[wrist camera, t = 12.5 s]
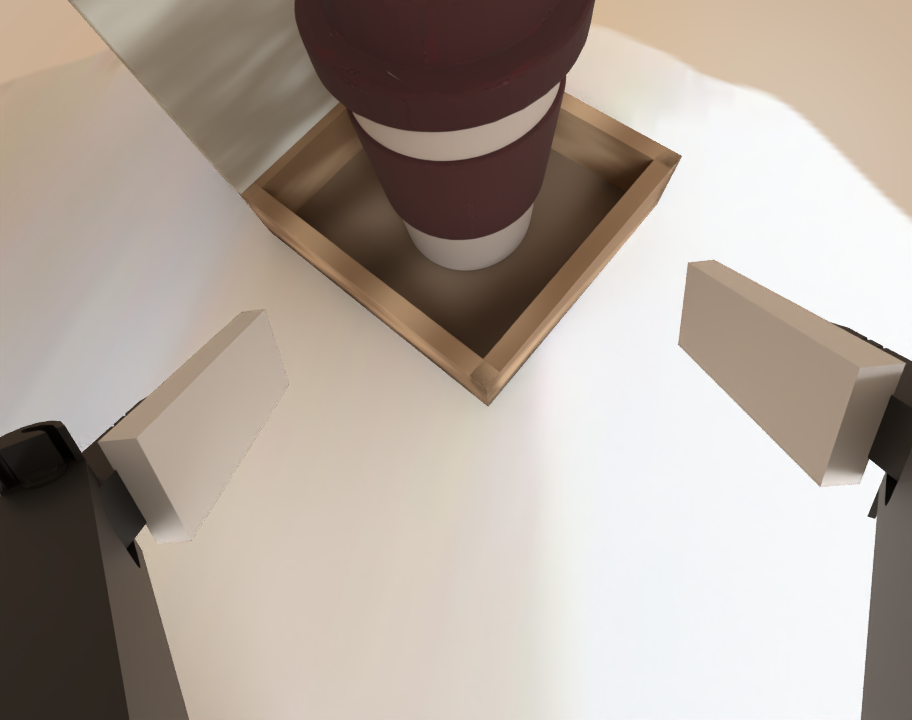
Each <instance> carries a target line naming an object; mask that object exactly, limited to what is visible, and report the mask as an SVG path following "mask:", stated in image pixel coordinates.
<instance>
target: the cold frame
mask: <svg viewBox="0 0 912 720" xmlns="http://www.w3.org/2000/svg"><path fill="white" fill-rule="evenodd" d="M68 1H69V2H70V3H71V4H72V5H73V7H74V8H75V9H76V10H77V11H78V12H79V13H80V15H81V16H82V17H83V18H84V19H85V20H86V21H87V23H89V25H90V26H91V27H92V28H93V29H94V30H95V32H96V33H97V34H98V35H99V36H100V37H101V38H102V40H103V41H104V42H105V43H106V44H107V45H108V46H109V48H110V49H111V50H112V51H113V52H114V53H115V54H116V56H117V57H118V58H119V59H120V60H121V61H122V62H123V64H124V65H125V66H126V67H127V68H128V69H129V70H130V72H131V73H132V74H133V75H134V76H135V77H136V78H137V79H138V81H139V82H140V83H141V84H142V85H143V86H144V87H145V89H146V90H147V91H148V92H149V93H150V94H151V95H152V97H153V98H154V99H155V100H156V101H157V102H158V103H159V105H160V106H161V107H162V108H163V109H164V110H165V111H166V113H167V114H168V115H169V116H170V117H171V118H172V119H173V121H174V122H175V123H176V124H177V125H178V126H179V127H180V128H181V130H182V131H183V132H184V133H185V134H186V135H187V136H188V138H189V139H190V140H191V141H192V142H193V143H194V144H195V146H196V147H197V148H198V149H199V150H200V151H201V152H202V154H203V155H204V156H205V157H206V158H207V159H208V160H209V162H210V163H211V164H212V165H213V166H214V167H215V168H216V169H217V171H218V172H219V173H220V174H221V175H222V176H223V177H224V179H225V180H226V181H227V182H228V183H229V184H230V185H231V187H232V188H233V189H235V190H236V191H237V192H238V193H239V194H240V195H241V197H242V198H243V199H244V200H245V201H246V203H247V204H248V205H249V206H250V208H251V209H252V210H253V211H254V212H255V214H256V215H257V216H258V217H259V218H260V220H261V221H262V222H263V223H264V224H265V226H266V227H267V228H268V229H269V230H270V232H272V233H273V234H274V235H275V236H277V237H278V238H279V239H280V240H282V241H283V242H284V243H285V244H287V245H288V246H289V247H290V248H292V249H293V250H294V251H295V252H297V253H298V254H299V255H300V256H302V257H303V258H304V259H305V260H306V261H308V262H309V263H310V264H311V265H313V266H314V267H315V268H316V269H318V270H319V271H320V272H321V273H323V274H324V275H325V276H326V277H328V278H329V279H330V280H331V281H333V282H334V283H335V284H336V285H338V286H339V287H340V288H341V289H343V290H344V291H345V292H346V293H348V294H349V295H350V296H351V297H352V298H354V299H355V300H356V301H357V302H359V303H360V304H361V305H362V306H364V307H365V308H366V309H367V310H369V311H370V312H371V313H372V314H374V315H375V316H376V317H377V318H379V319H380V320H381V321H382V322H384V323H385V324H386V325H387V326H389V327H390V328H391V329H392V330H394V331H395V332H396V333H397V334H399V335H400V336H401V337H402V338H403V339H405V340H406V341H407V342H408V343H410V344H411V345H412V346H413V347H415V348H416V349H417V350H418V351H420V352H421V353H422V354H423V355H425V356H426V357H427V358H428V359H430V360H431V361H432V362H433V363H435V364H436V365H437V366H438V367H440V368H441V369H442V370H443V371H445V372H446V373H447V374H448V375H449V376H451V377H452V378H453V379H454V380H456V381H457V382H458V383H459V384H461V385H462V386H463V387H464V388H466V389H467V390H468V391H469V392H471V393H472V394H473V395H474V396H476V397H477V398H478V399H479V400H481V401H482V402H483V403H484V404H486V405H487V406H489V405H490V404H491V403H492V401H493V400H494V399H495V398H496V397H497V395H498V394H499V393H500V392H501V391H502V389H503V388H504V387H505V386H506V385H507V383H508V382H509V381H510V380H511V379H512V377H513V376H514V375H515V374H516V373H517V371H518V370H519V369H520V368H521V367H522V365H523V364H524V363H525V362H526V361H527V359H528V358H529V357H530V356H531V355H532V353H533V352H534V351H535V350H536V349H537V347H538V346H539V345H540V344H541V343H542V341H543V340H544V339H545V338H546V337H547V335H548V334H549V333H550V332H551V331H552V329H553V328H554V327H555V326H556V325H557V323H558V322H559V321H560V320H561V319H562V317H563V316H564V315H565V314H566V313H567V311H568V310H569V309H570V308H571V307H572V305H573V304H574V303H575V302H576V301H577V299H578V298H579V297H580V296H581V295H582V293H583V292H584V291H585V290H586V289H587V287H588V286H589V285H590V284H591V283H592V281H593V280H594V279H595V278H596V277H597V275H598V274H599V273H600V272H601V271H602V269H603V268H604V267H605V266H606V265H607V263H608V262H609V261H610V260H611V259H612V257H613V256H614V255H615V254H616V253H617V251H618V250H619V249H620V248H621V247H622V245H623V244H624V243H625V242H626V241H627V239H628V238H629V237H630V236H631V235H632V233H633V232H634V231H635V230H636V229H637V227H638V226H639V225H640V224H641V223H642V221H643V220H644V219H645V218H646V217H647V215H648V214H649V213H650V212H651V211H652V209H653V208H654V207H655V206H656V205H657V203H658V201H659V199H660V197H661V195H662V193H663V192H664V190H665V188H666V186H667V184H668V182H669V180H670V178H671V176H672V174H673V172H674V171H675V169H676V167H677V165H678V163H679V161H680V159H681V157H682V156H681V155H679V154H677V153H675V152H674V151H672V150H670V149H668V148H666V147H664V146H663V145H661V144H659V143H657V142H655V141H653V140H652V139H650V138H648V137H646V136H644V135H642V134H641V133H639V132H637V131H635V130H633V129H631V128H630V127H628V126H626V125H624V124H622V123H620V122H618V121H617V120H615V119H613V118H611V117H609V116H607V115H606V114H604V113H602V112H600V111H598V110H596V109H595V108H593V107H591V106H589V105H587V104H585V103H584V102H582V101H580V100H578V99H576V98H574V97H573V96H571V95H569V94H567V93H565V92H564V95H563V99H562V103H561V108H560V112H559V116H558V120H557V125H556V129H555V133H554V138H553V142H552V146H551V150H550V155H549V159H548V163H547V167H546V172H545V176H544V180H543V183H542V187H541V189H540V191H539V194H538V195H537V197H536V199H535V201H534V205H533V210H532V215H531V219H530V224H529V227H528V230H527V233H526V235H525V237H524V238H523V240H522V242H521V243H520V245H519V246H518V247H517V248H516V249H515V251H514V252H512V253H511V254H510V255H509V256H508V257H506V258H505V259H504V260H502V261H500V262H498V263H497V264H494V265H492V266H489V267H487V268H483V269H478V270H466V271H461V270H453V269H449V268H445V267H443V266H440V265H438V264H436V263H434V262H432V261H431V260H429V259H428V258H427V257H426V256H424V255H423V254H422V253H421V252H420V251H419V250H418V248H417V247H416V246H415V244H414V243H413V241H412V239H411V237H410V235H409V233H408V231H407V228H406V226H405V224H404V222H403V220H402V218H401V217H400V216H399V215H398V214H397V212H396V211H395V210H394V208H393V207H392V205H391V203H390V202H389V200H388V198H387V196H386V194H385V192H384V190H383V187H382V185H381V183H380V181H379V179H378V177H377V175H376V173H375V171H374V169H373V167H372V165H371V163H370V161H369V158H368V156H367V154H366V152H365V150H364V148H363V146H362V144H361V142H360V140H359V138H358V136H357V134H356V132H355V129H354V127H353V125H352V123H351V121H350V118H349V116H348V113H347V109H346V107H345V106H344V105H343V104H341V103H340V102H339V101H338V100H337V99H336V98H335V97H333V95H332V94H331V93H330V92H329V91H328V90H327V89H326V88H325V86H324V85H323V84H322V82H321V80H320V79H319V77H318V75H317V73H316V71H315V69H314V67H313V65H312V63H311V60H310V58H309V55H308V53H307V51H306V48H305V46H304V44H303V41H302V39H301V36H300V34H299V31H298V27H297V24H296V20H295V12H294V4H295V0H68Z"/></svg>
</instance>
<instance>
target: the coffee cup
mask: <svg viewBox="0 0 912 720" xmlns="http://www.w3.org/2000/svg"><path fill="white" fill-rule="evenodd" d="M594 3H595V0H295V4H294V12H295V20H296V24H297V27H298V31H299V34H300V36H301V39H302V41H303V44H304V46H305V48H306V51H307V53H308V55H309V58H310V60H311V63H312V65H313V67H314V69H315V71H316V73H317V75H318V77H319V79H320V80H321V82H322V84H323V85H324V86H325V88H326V89H327V90H328V91H329V92H330V93H331V94H332V95H333V97H335V98H336V99H337V100H338V101H339V102H340V103H341V104H343V105H344V106H345V107H346V109H347V113H348V116H349V118H350V121H351V123H352V125H353V127H354V129H355V132H356V134H357V136H358V138H359V140H360V142H361V144H362V146H363V148H364V150H365V152H366V154H367V156H368V158H369V161H370V163H371V165H372V167H373V169H374V171H375V173H376V175H377V177H378V179H379V181H380V183H381V185H382V187H383V190H384V192H385V194H386V196H387V198H388V200H389V202H390V203H391V205H392V207H393V208H394V210H395V211H396V212H397V214H398V215H399V216H400V217H401V218H402V220H403V222H404V224H405V226H406V228H407V231H408V233H409V235H410V237H411V239H412V241H413V243H414V244H415V246H416V247H417V248H418V250H419V251H420V252H421V253H422V254H423V255H424V256H426V257H427V258H428V259H429V260H431V261H432V262H434V263H436V264H438V265H440V266H443V267H445V268H449V269H453V270H461V271H466V270H478V269H483V268H487V267H489V266H492V265H494V264H497V263H498V262H500V261H502V260H504V259H505V258H506V257H508V256H509V255H510V254H511V253H512V252H514V251H515V249H516V248H517V247H518V246H519V245H520V243H521V242H522V240H523V238H524V237H525V235H526V233H527V230H528V227H529V224H530V219H531V215H532V210H533V205H534V201H535V199H536V197H537V195H538V194H539V191H540V189H541V187H542V183H543V180H544V176H545V172H546V167H547V163H548V159H549V155H550V150H551V146H552V142H553V138H554V133H555V129H556V125H557V120H558V116H559V112H560V108H561V103H562V99H563V95H564V90H565V84H566V74H567V73H568V72H569V71H570V69H571V68H572V66H573V65H574V64H575V62H576V60H577V58H578V56H579V54H580V52H581V51H582V49H583V47H584V45H585V42H586V39H587V36H588V32H589V28H590V24H591V18H592V13H593V8H594Z"/></svg>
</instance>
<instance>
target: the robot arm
mask: <svg viewBox="0 0 912 720" xmlns="http://www.w3.org/2000/svg"><path fill="white" fill-rule="evenodd" d="M678 345H679V346H680V347H681V348H682V349H683V350H684V351H685V352H686V353H687V354H688V355H689V356H690V357H691V358H692V359H693V360H694V361H695V362H696V363H697V364H698V365H699V366H700V367H701V368H702V369H703V370H704V371H705V372H706V373H707V374H708V375H709V376H710V377H711V378H712V379H713V380H714V381H715V382H716V383H717V384H718V385H719V386H720V387H721V388H722V389H723V390H724V391H725V392H726V393H727V394H728V395H729V396H730V397H731V398H732V399H733V400H734V401H735V402H736V403H737V404H738V405H739V406H740V407H741V408H742V409H743V410H744V411H745V412H746V413H747V414H748V415H749V416H750V417H751V418H752V419H753V420H754V421H755V422H756V423H757V424H758V425H759V426H760V427H761V428H762V429H763V430H764V431H765V432H766V433H767V434H768V435H769V436H770V437H771V438H772V439H773V440H774V441H775V442H776V443H777V444H778V445H779V446H780V447H781V448H782V449H783V450H784V451H785V452H786V453H787V454H788V455H789V456H790V457H791V458H792V459H793V460H794V461H795V462H796V463H797V464H798V465H799V466H800V467H801V468H802V469H803V470H804V471H805V472H806V473H807V474H808V475H809V476H810V477H811V478H812V479H813V480H814V481H815V482H816V483H817V484H818V485H819V486H820V487H827V486H839V485H851V484H860V482H861V479H862V476H863V474H864V471H865V468H866V466H867V463H868V461H869V459H870V460H872V461H873V462H874V463H875V464H876V465H878V466H879V467H880V468H881V469H883V470H884V471H885V475H884V477H883V480H882V482H881V485H880V487H879V490H878V492H877V494H876V497H875V499H874V502H873V504H872V507H871V509H870V511H869V514H868V517H871V518H874V519H875V518H876V516H877V523H876V535H875V548H874V561H873V573H872V586H871V599H870V611H869V624H868V637H867V649H866V662H865V675H864V687H863V700H862V713H861V720H912V361H910V360H909V359H907V358H905V357H903V356H901V355H899V354H897V353H895V352H893V351H891V350H890V349H888V348H883V346H882V345H880V344H878V343H876V342H874V341H872V340H867V337H865V336H863V335H861V334H859V333H857V332H855V331H854V330H852V329H850V328H847V327H844V326H841V325H837V324H834V323H831V322H828V321H827V320H825V319H823V318H821V317H819V316H817V315H815V314H814V313H812V312H810V311H808V310H806V309H804V308H802V307H801V306H799V305H797V304H795V303H793V302H791V301H789V300H788V299H786V298H784V297H782V296H780V295H778V294H776V293H775V292H773V291H771V290H769V289H767V288H765V287H763V286H762V285H760V284H758V283H756V282H754V281H752V280H750V279H749V278H747V277H745V276H743V275H741V274H739V273H737V272H736V271H734V270H732V269H730V268H728V267H726V266H724V265H723V264H721V263H719V262H717V261H715V260H708V261H699V262H690V263H688V268H687V276H686V285H685V293H684V301H683V309H682V318H681V326H680V334H679V342H678ZM288 386H289V381H288V378H287V375H286V372H285V369H284V366H283V363H282V360H281V357H280V354H279V351H278V348H277V345H276V342H275V339H274V336H273V332H272V329H271V326H270V323H269V320H268V317H267V314H266V311H265V310H256V311H247V312H241V313H240V314H239V315H238V316H237V317H235V318H234V319H233V320H232V321H231V322H230V323H229V324H228V325H227V326H225V327H224V328H223V329H222V330H221V331H220V332H219V333H218V334H217V335H215V336H214V337H213V338H212V339H211V340H210V341H209V342H208V343H207V344H206V345H204V346H203V347H202V348H201V349H200V350H199V351H198V352H197V353H196V354H194V355H193V356H192V357H191V358H190V359H189V360H188V361H187V362H186V363H184V364H183V365H182V366H181V367H180V368H179V369H178V370H177V371H176V372H175V373H173V374H172V375H171V376H170V377H169V378H168V379H167V380H166V381H165V382H163V383H162V384H161V385H160V386H159V387H158V388H157V389H156V390H155V391H153V392H152V393H151V394H150V395H149V396H148V397H146V398H144V399H143V400H141V401H139V402H138V403H137V404H136V405H135V406H134V407H133V408H131V409H130V410H129V411H128V412H127V413H126V414H125V415H126V416H122V417H121V418H120V419H119V420H118V421H117V422H116V423H115V424H114V426H113V427H110V428H109V429H108V430H107V431H106V432H105V433H103V434H102V435H101V436H100V437H99V438H98V439H97V440H96V441H94V442H93V443H92V444H91V445H90V446H89V447H88V448H87V449H86V450H84V451H83V452H82V453H81V451H80V450H79V448H78V446H77V445H76V443H75V441H74V440H73V438H72V437H71V435H70V433H69V432H68V430H67V428H66V427H65V425H64V424H63V423H62V422H61V421H46V422H39V423H35V424H32V425H29V426H25V427H22V428H20V429H17V430H15V431H13V432H10V433H8V434H5V435H4V436H2V437H0V720H189V718H188V714H187V711H186V707H185V703H184V700H183V696H182V693H181V689H180V686H179V682H178V678H177V675H176V671H175V668H174V664H173V660H172V657H171V653H170V650H169V646H168V642H167V639H166V635H165V632H164V628H163V624H162V621H161V617H160V614H159V610H158V606H157V603H156V599H155V596H154V592H153V588H152V585H151V581H150V578H149V574H148V571H147V567H146V563H145V560H144V556H143V553H142V550H141V548H140V547H139V545H138V543H137V542H136V540H135V539H134V538H135V537H136V536H137V535H138V533H139V532H140V531H141V529H142V528H143V527H144V525H145V524H146V525H147V527H148V529H149V530H150V532H151V534H152V535H153V537H154V539H155V540H156V542H157V544H161V543H173V542H184V541H192V540H193V538H194V536H195V535H196V533H197V532H198V530H199V528H200V527H201V525H202V523H203V522H204V520H205V519H206V517H207V515H208V514H209V512H210V511H211V509H212V507H213V506H214V504H215V503H216V501H217V499H218V498H219V496H220V495H221V493H222V491H223V490H224V488H225V487H226V485H227V483H228V482H229V480H230V479H231V477H232V475H233V474H234V472H235V471H236V469H237V467H238V466H239V464H240V463H241V461H242V459H243V458H244V456H245V455H246V453H247V451H248V450H249V448H250V447H251V445H252V443H253V442H254V440H255V439H256V437H257V435H258V434H259V432H260V431H261V429H262V427H263V426H264V424H265V423H266V421H267V419H268V418H269V416H270V415H271V413H272V411H273V410H274V408H275V407H276V405H277V403H278V402H279V400H280V398H281V397H282V395H283V394H284V392H285V390H286V389H287V387H288Z"/></svg>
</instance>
